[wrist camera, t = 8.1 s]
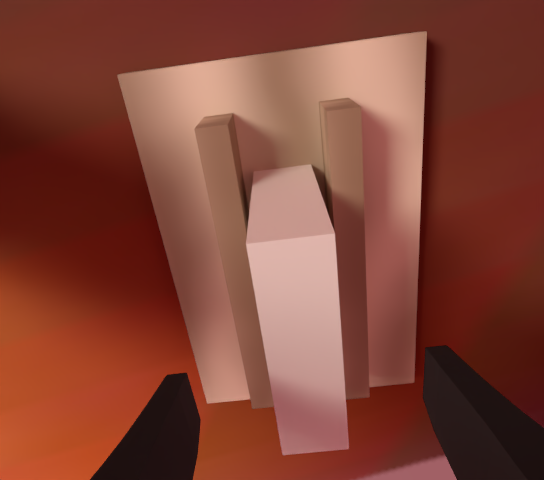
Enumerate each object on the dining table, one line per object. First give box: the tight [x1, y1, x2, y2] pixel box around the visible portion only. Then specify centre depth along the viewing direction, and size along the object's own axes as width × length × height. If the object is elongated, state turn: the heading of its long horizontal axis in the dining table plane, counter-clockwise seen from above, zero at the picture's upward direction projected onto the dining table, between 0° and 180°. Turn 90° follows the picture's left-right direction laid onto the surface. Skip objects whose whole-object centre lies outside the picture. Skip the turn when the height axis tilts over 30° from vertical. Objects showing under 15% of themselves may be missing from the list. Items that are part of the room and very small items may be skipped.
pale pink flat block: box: [246, 164, 349, 455], centre depth 17 cm, size 2×9×7 cm, turn 7°
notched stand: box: [117, 31, 427, 409], centre depth 19 cm, size 12×18×4 cm, turn 7°
